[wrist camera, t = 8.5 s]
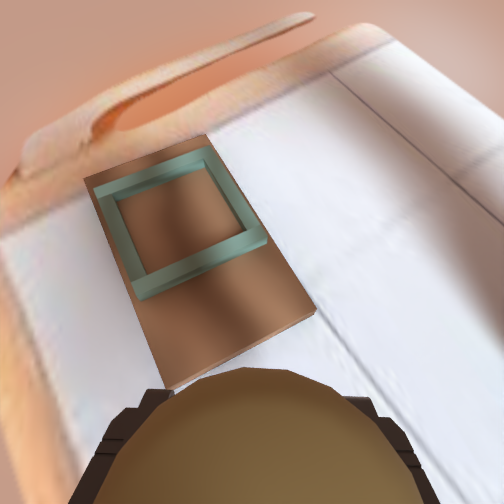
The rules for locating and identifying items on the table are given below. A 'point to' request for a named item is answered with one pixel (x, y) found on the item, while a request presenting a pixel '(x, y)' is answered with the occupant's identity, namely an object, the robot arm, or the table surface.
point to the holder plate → (195, 259)
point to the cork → (258, 448)
